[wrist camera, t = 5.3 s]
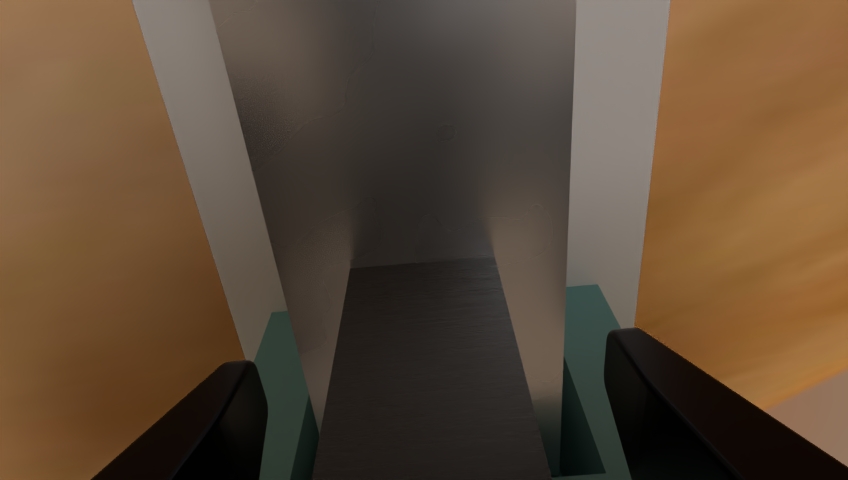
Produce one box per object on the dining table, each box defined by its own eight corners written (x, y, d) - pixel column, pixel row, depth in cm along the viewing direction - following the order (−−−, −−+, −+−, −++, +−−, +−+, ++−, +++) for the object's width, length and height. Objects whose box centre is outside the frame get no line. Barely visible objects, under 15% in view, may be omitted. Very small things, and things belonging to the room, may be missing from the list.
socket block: (589, 405, 16) (678, 640, 10) (303, 428, 16) (250, 670, 11) (597, 284, 14) (712, 499, 8) (271, 312, 14) (188, 539, 9)
